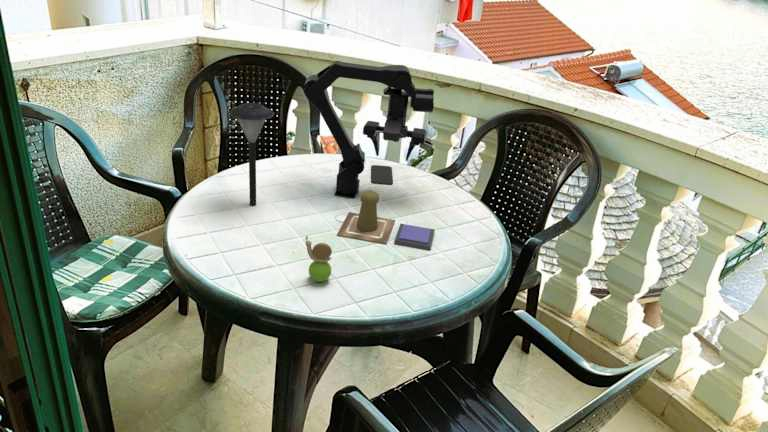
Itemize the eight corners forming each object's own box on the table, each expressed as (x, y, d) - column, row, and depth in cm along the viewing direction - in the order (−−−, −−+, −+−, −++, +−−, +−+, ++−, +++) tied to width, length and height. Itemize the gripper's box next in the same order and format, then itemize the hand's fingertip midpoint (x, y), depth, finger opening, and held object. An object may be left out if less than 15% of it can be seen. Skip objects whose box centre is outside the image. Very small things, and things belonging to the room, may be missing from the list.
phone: (391, 166, 205) (393, 183, 191) (391, 168, 205) (393, 186, 192) (371, 164, 204) (371, 182, 191) (370, 166, 204) (370, 184, 191)
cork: (378, 223, 167) (382, 188, 162) (376, 233, 161) (379, 198, 156) (357, 220, 167) (360, 186, 162) (355, 230, 162) (357, 195, 156)
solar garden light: (270, 194, 177) (271, 99, 163) (277, 213, 167) (277, 113, 153) (229, 196, 173) (226, 99, 159) (233, 215, 163) (230, 114, 149)
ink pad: (394, 244, 158) (394, 238, 157) (400, 227, 167) (400, 221, 166) (430, 250, 157) (430, 245, 156) (434, 233, 166) (434, 227, 165)
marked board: (336, 235, 159) (336, 234, 159) (348, 213, 171) (349, 211, 171) (386, 244, 157) (386, 242, 157) (395, 221, 170) (395, 219, 169)
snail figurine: (304, 273, 142) (306, 230, 136) (330, 273, 142) (333, 232, 137) (303, 285, 137) (305, 242, 131) (330, 286, 138) (333, 243, 132)
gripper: (360, 112, 165) (356, 162, 172) (425, 122, 162) (418, 173, 170) (369, 102, 175) (364, 150, 182) (429, 111, 172) (423, 159, 180)
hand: (392, 158), depth 178 cm, fingers open, 9 cm apart
